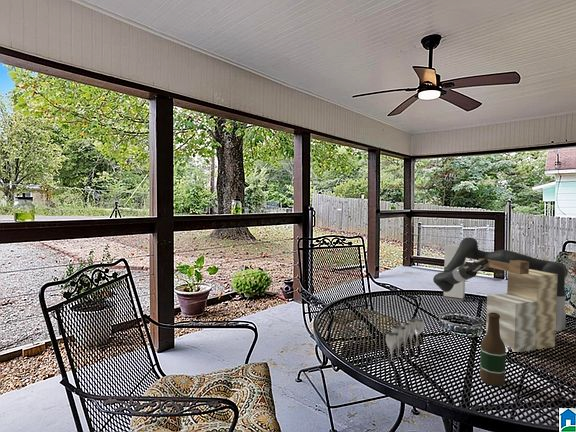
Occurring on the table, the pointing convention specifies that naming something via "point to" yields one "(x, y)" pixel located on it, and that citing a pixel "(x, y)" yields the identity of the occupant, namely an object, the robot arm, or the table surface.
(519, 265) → the wooden mallet
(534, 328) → the step shelf
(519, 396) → the table surface
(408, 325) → the goblet set
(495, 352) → the beer bottle
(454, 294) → the white tall block
